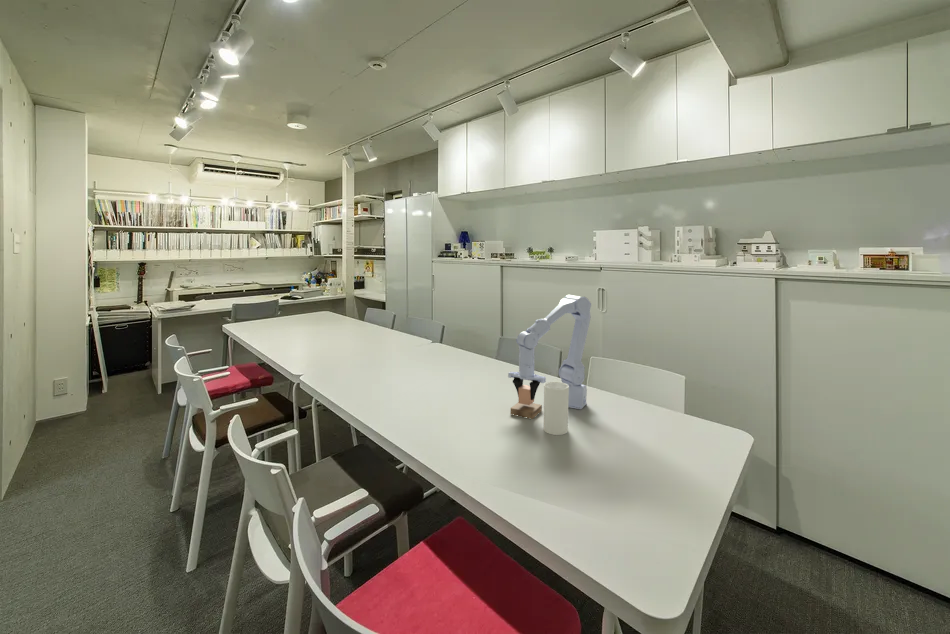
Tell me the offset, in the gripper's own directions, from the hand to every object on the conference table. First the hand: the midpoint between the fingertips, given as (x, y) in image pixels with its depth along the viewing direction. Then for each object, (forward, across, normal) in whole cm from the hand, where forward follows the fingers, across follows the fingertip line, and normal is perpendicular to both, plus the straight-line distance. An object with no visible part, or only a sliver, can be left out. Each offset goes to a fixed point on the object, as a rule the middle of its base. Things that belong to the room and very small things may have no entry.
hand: (526, 398), depth 154 cm
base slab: (+6, 0, 0) cm, 6 cm away
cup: (+6, +15, -9) cm, 19 cm away
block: (+2, 0, 0) cm, 2 cm away
